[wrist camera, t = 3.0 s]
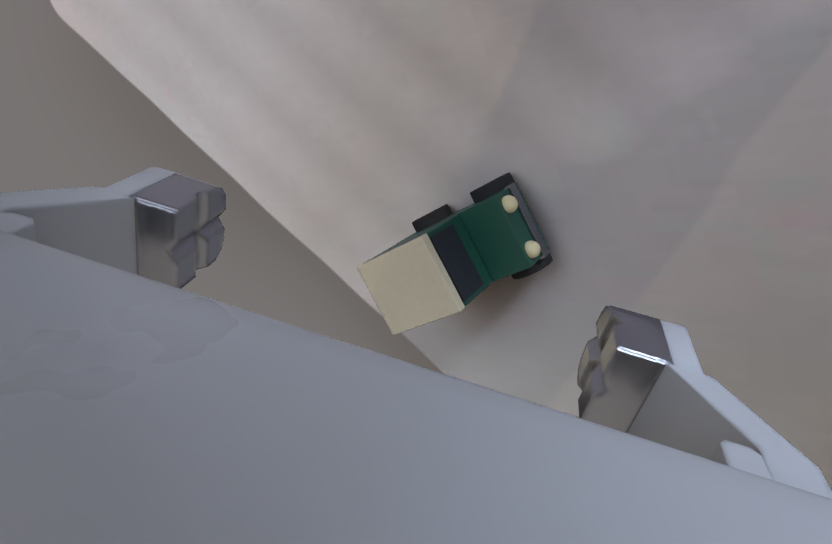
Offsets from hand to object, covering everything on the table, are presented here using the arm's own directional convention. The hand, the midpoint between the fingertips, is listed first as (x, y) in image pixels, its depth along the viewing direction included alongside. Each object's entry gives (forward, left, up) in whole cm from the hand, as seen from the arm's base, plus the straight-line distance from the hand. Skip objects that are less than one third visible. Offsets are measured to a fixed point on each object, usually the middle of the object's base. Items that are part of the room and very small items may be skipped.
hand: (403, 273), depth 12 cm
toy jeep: (+5, -10, -22) cm, 25 cm away
